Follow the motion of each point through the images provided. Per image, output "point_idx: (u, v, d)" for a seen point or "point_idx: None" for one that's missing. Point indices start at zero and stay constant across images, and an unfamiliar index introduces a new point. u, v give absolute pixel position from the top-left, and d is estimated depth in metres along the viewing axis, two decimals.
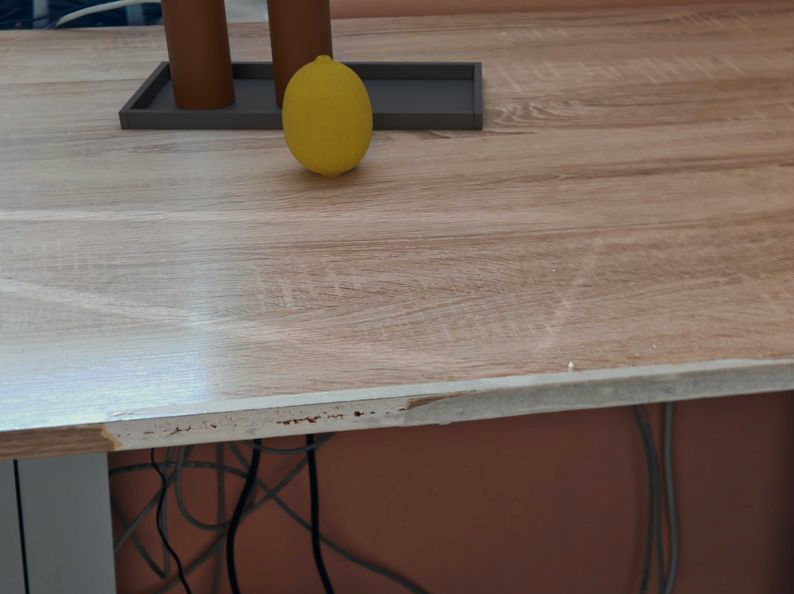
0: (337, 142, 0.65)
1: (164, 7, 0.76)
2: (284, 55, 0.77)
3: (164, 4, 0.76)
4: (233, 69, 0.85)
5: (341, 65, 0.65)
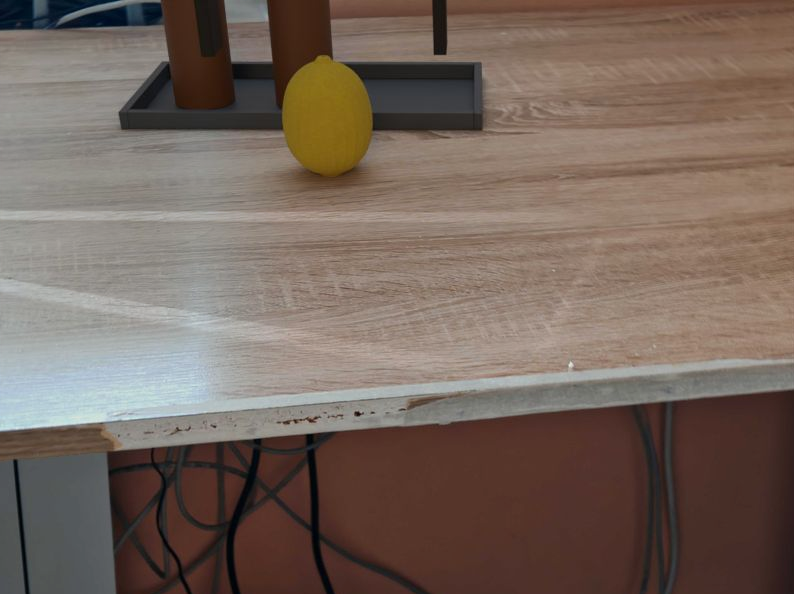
0: (337, 142, 0.65)
1: (164, 7, 0.76)
2: (284, 55, 0.77)
3: (164, 4, 0.76)
4: (233, 69, 0.85)
5: (341, 65, 0.65)
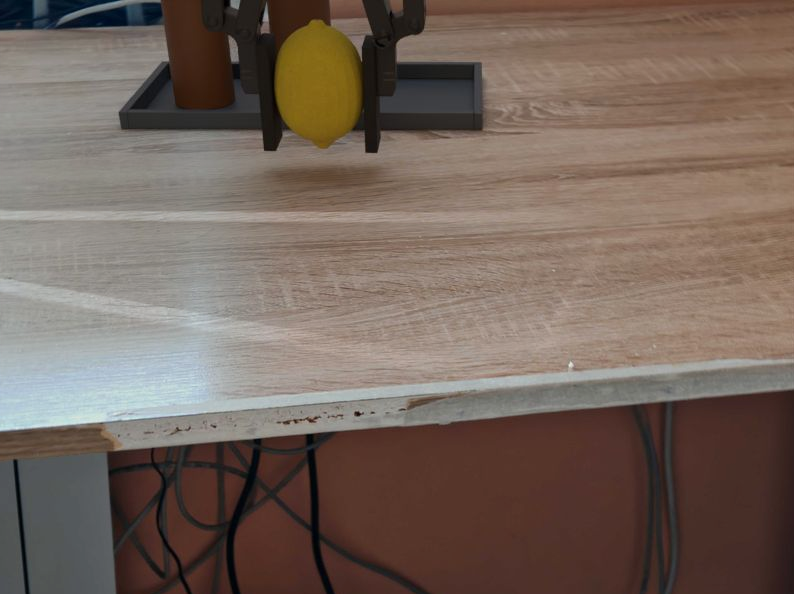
0: (329, 108, 0.64)
1: (164, 7, 0.76)
2: None
3: (164, 4, 0.76)
4: (233, 69, 0.85)
5: (335, 30, 0.64)
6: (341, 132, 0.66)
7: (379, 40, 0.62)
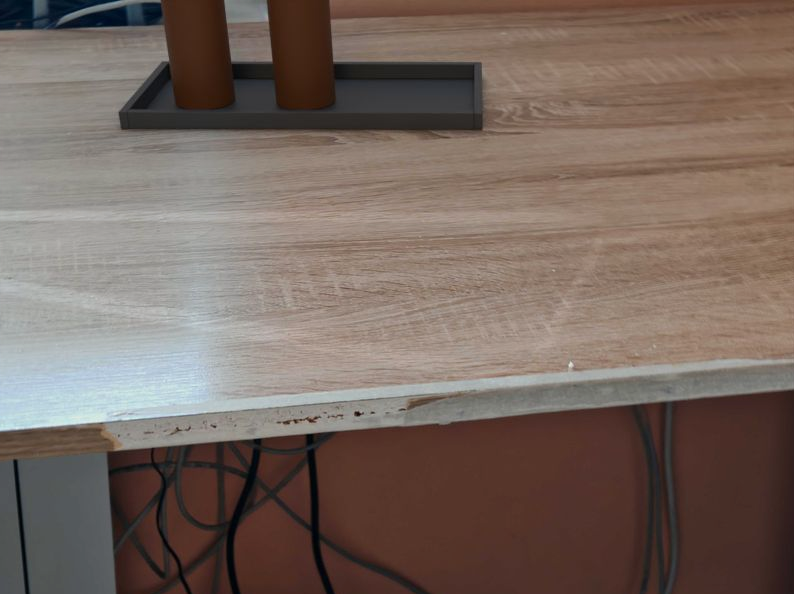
0: None
1: (164, 7, 0.76)
2: (284, 55, 0.77)
3: (164, 4, 0.76)
4: (233, 69, 0.85)
5: None
6: None
7: None
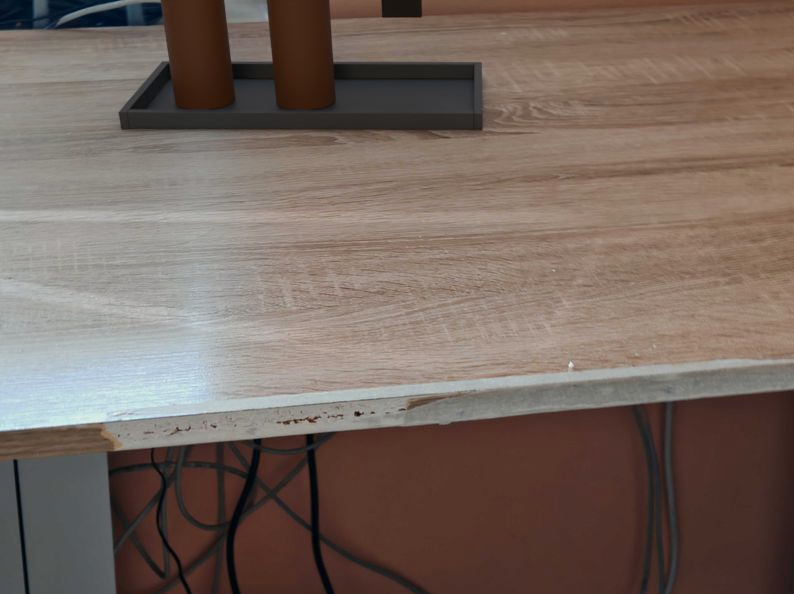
0: None
1: (164, 7, 0.76)
2: (284, 55, 0.77)
3: (164, 4, 0.76)
4: (233, 69, 0.85)
5: None
6: None
7: None
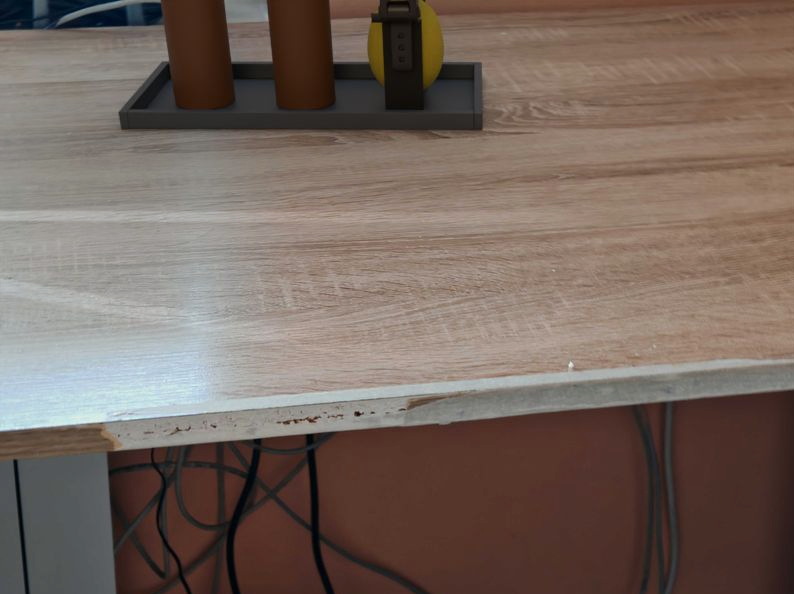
0: None
1: (164, 7, 0.76)
2: (284, 55, 0.77)
3: (164, 4, 0.76)
4: (233, 69, 0.85)
5: None
6: None
7: None
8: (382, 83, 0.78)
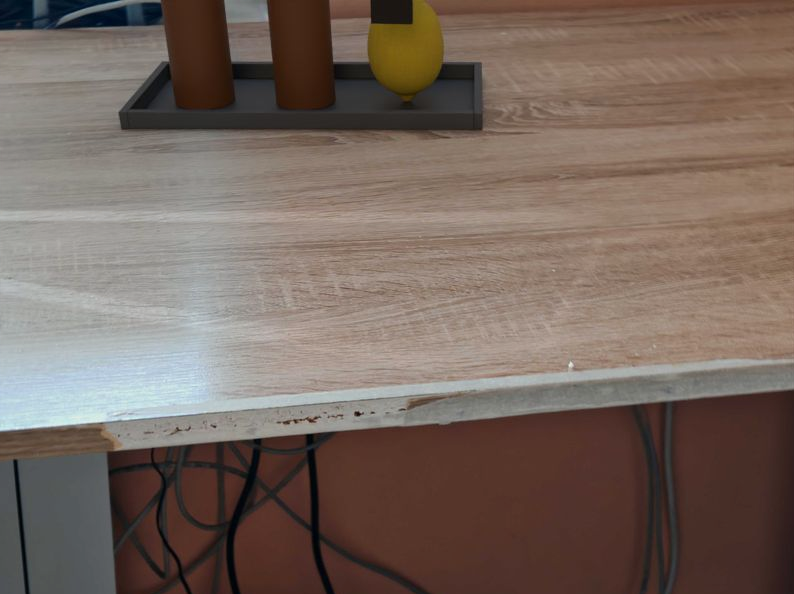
0: None
1: (164, 7, 0.76)
2: (284, 55, 0.77)
3: (164, 4, 0.76)
4: (233, 69, 0.85)
5: None
6: None
7: None
8: (382, 83, 0.78)
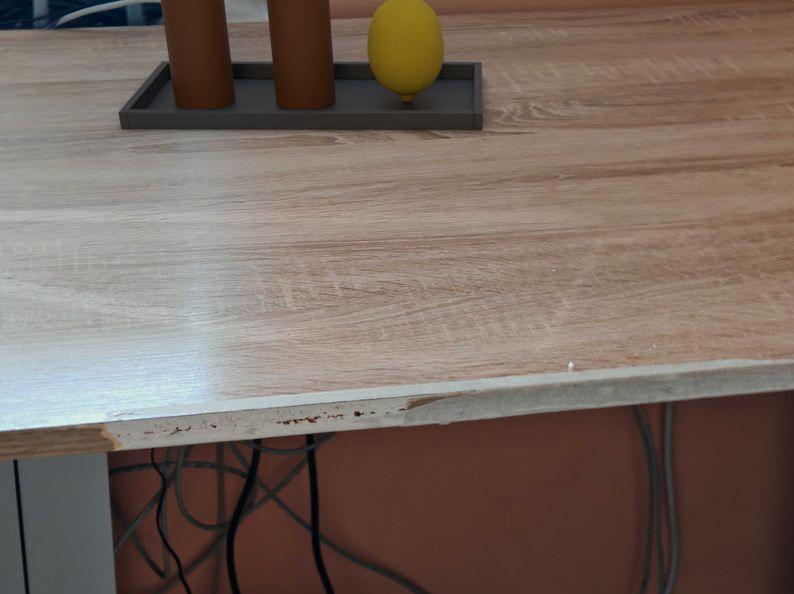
0: None
1: (164, 7, 0.76)
2: (284, 55, 0.77)
3: (164, 4, 0.76)
4: (233, 69, 0.85)
5: None
6: None
7: None
8: (382, 83, 0.78)
